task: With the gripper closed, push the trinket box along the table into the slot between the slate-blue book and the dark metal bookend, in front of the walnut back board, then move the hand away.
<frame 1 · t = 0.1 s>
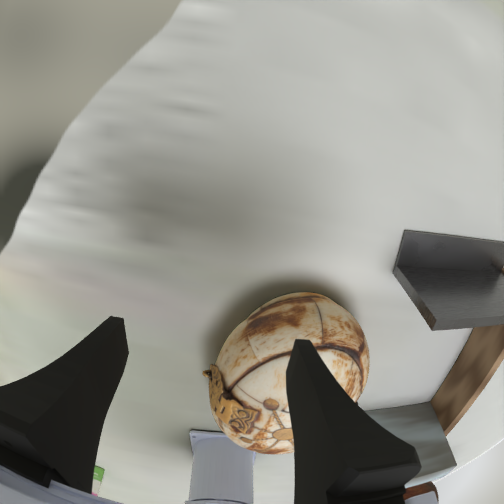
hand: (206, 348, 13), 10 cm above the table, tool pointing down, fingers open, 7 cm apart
bookend: (453, 271, 23), on the table
ink box: (91, 469, 42), on the table
trinket box: (282, 355, 27), on the table
shelf: (408, 361, 27), on the table
jug: (379, 485, 45), on the table
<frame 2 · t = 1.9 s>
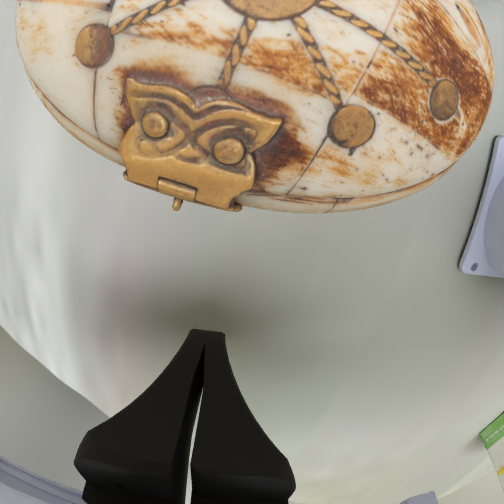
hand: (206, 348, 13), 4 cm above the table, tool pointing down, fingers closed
ink box: (501, 422, 26), on the table
trinket box: (252, 41, 11), on the table
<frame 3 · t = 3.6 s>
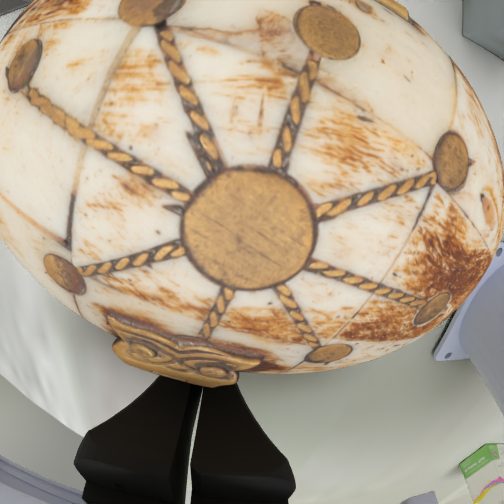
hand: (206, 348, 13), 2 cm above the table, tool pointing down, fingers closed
ink box: (482, 452, 27), on the table
trinket box: (242, 143, 11), on the table, touching gripper
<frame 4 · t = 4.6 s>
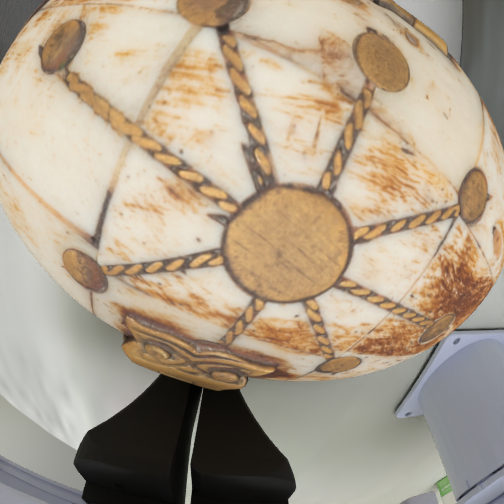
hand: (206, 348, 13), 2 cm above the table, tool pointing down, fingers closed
ink box: (460, 472, 30), on the table
trinket box: (258, 149, 12), on the table, touching gripper
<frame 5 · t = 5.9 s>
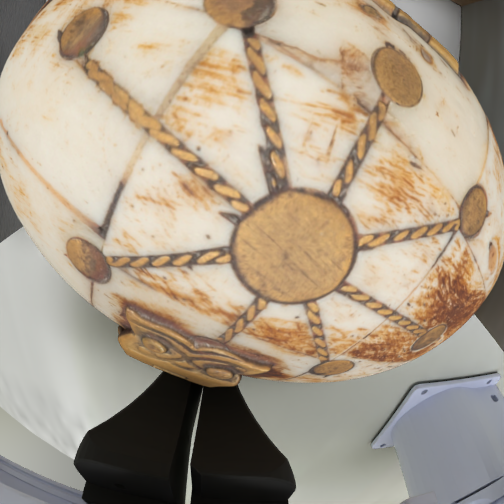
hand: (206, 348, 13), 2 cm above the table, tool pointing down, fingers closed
bookend: (25, 86, 9), on the table
trinket box: (262, 150, 12), on the table
shelf: (261, 101, 10), on the table
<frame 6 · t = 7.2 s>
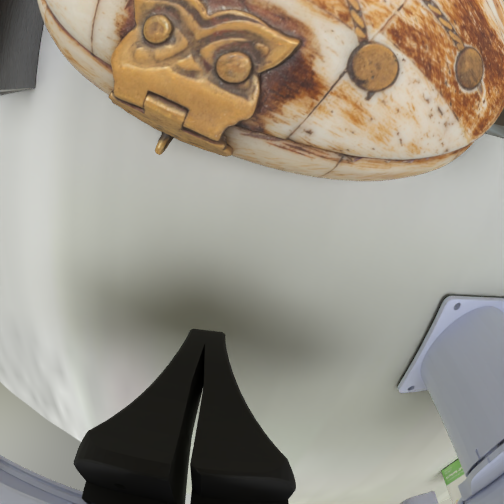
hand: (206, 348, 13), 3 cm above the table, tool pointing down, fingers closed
ink box: (464, 460, 30), on the table
trinket box: (269, 7, 10), on the table, touching shelf
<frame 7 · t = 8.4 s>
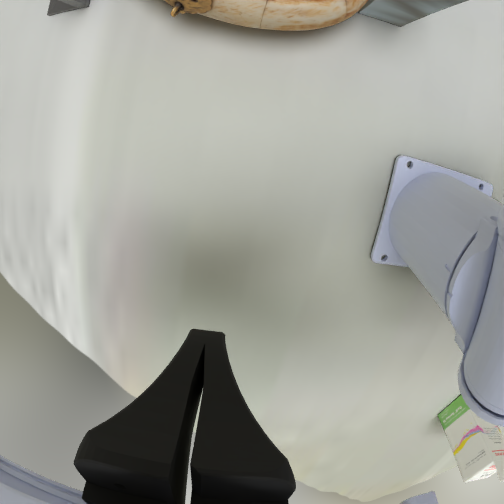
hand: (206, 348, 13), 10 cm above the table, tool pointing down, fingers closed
ink box: (461, 406, 33), on the table
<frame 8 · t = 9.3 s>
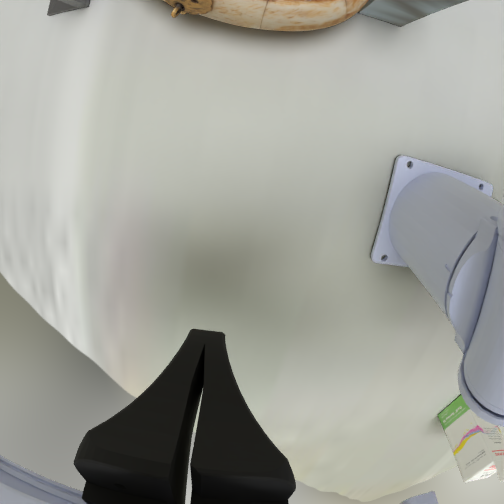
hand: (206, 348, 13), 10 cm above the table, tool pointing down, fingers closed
ink box: (461, 406, 33), on the table
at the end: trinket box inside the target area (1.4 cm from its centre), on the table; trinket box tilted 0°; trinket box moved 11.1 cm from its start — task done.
